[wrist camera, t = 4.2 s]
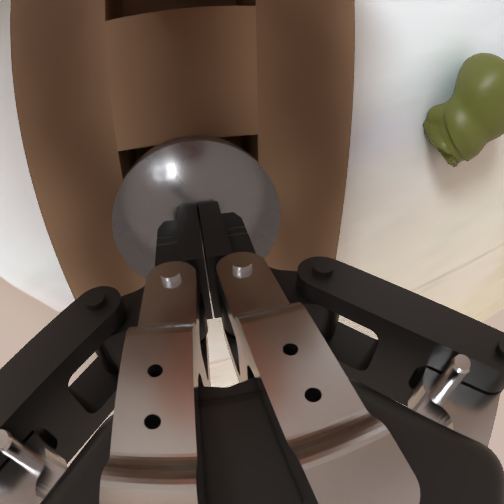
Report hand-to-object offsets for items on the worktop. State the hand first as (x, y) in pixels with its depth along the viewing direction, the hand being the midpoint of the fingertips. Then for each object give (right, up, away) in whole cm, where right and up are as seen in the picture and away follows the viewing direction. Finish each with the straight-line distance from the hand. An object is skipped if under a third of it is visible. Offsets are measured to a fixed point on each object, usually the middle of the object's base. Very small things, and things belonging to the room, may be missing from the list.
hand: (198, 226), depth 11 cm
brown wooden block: (-2, +8, +2) cm, 9 cm away
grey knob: (-1, +3, +4) cm, 5 cm away
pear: (+17, +11, +6) cm, 21 cm away
